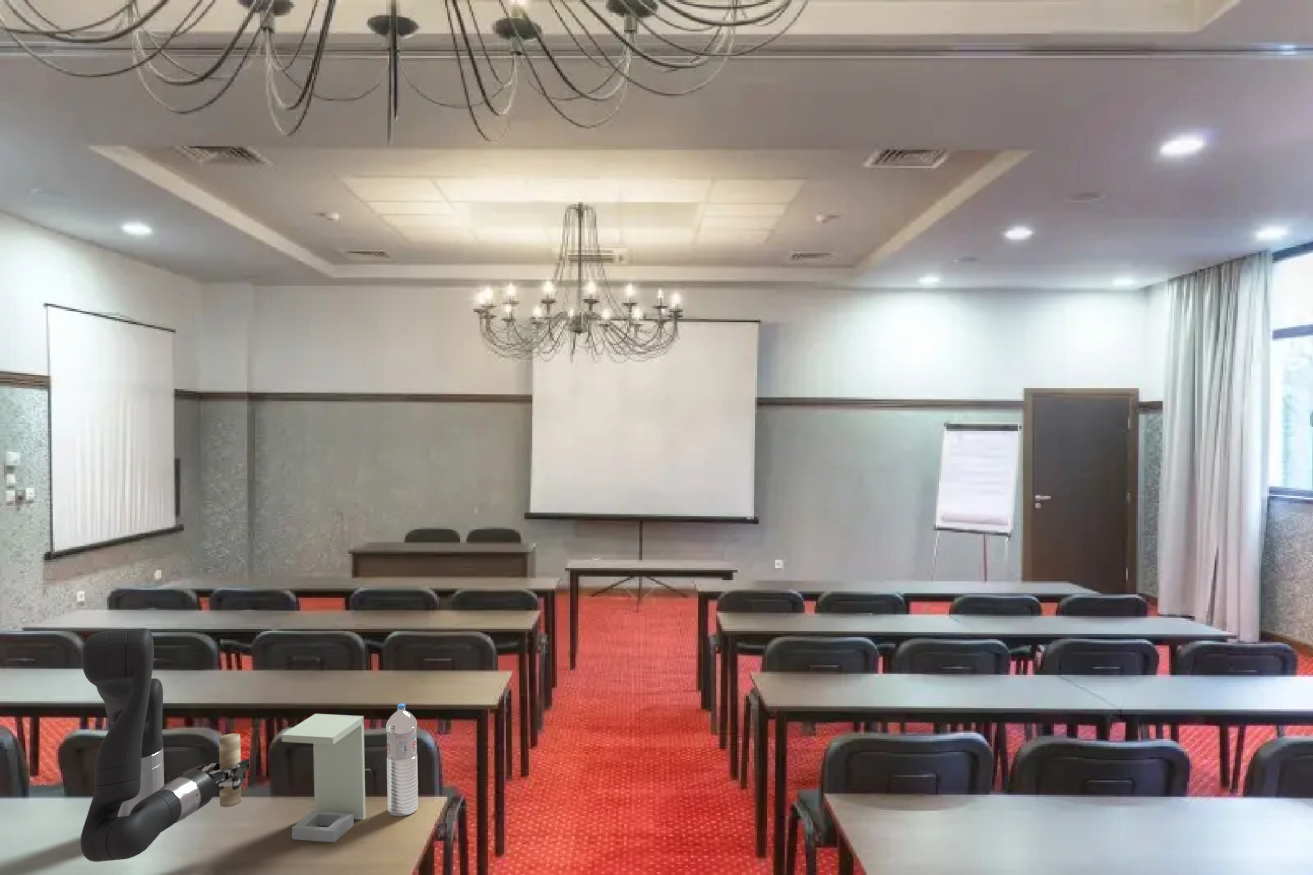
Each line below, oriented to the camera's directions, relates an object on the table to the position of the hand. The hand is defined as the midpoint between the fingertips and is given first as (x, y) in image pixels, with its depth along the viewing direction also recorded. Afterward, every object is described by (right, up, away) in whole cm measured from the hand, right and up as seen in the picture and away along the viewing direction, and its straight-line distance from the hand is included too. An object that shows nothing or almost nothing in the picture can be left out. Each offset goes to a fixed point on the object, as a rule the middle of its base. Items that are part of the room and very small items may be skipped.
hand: (238, 762), depth 181 cm
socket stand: (+16, -18, +6) cm, 25 cm away
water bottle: (+31, -17, +16) cm, 39 cm away
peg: (0, -8, -3) cm, 8 cm away
